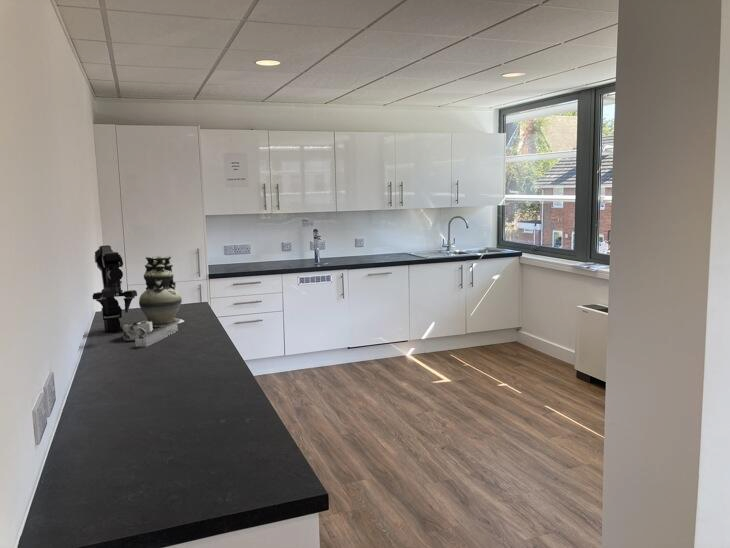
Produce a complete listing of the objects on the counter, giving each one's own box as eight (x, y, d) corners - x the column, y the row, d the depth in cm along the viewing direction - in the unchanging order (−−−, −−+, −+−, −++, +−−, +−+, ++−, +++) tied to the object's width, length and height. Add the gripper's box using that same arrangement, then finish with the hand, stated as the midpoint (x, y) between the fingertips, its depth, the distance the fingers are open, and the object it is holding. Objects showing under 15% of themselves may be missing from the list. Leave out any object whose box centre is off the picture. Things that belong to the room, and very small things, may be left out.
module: (137, 332, 288) (136, 322, 287) (140, 330, 292) (139, 320, 291) (150, 332, 288) (149, 322, 287) (152, 330, 292) (152, 320, 291)
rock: (147, 340, 271) (146, 325, 271) (123, 343, 267) (122, 327, 267) (146, 334, 285) (145, 319, 284) (123, 337, 281) (122, 322, 280)
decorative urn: (167, 318, 323) (162, 254, 319) (192, 321, 310) (187, 254, 307) (132, 325, 306) (126, 258, 302) (157, 328, 293) (151, 258, 290)
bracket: (135, 346, 260) (134, 335, 259) (167, 331, 289) (167, 321, 288) (147, 346, 259) (147, 335, 258) (178, 331, 288) (178, 321, 287)
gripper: (84, 282, 266) (88, 317, 267) (125, 280, 265) (128, 314, 266) (96, 280, 277) (100, 313, 278) (136, 278, 276) (139, 311, 278)
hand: (116, 313), depth 275 cm, fingers open, 9 cm apart
